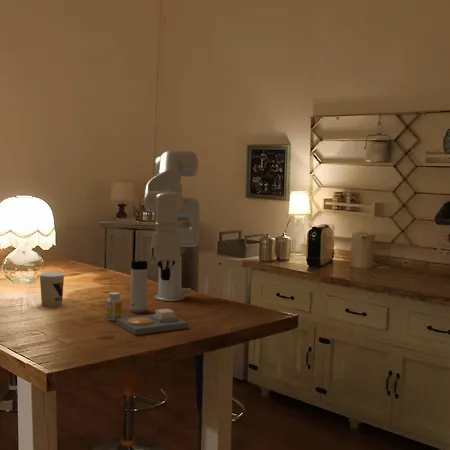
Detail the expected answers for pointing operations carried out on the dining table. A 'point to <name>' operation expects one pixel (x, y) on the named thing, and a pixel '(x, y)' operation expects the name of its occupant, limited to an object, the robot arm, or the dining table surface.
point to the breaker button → (164, 313)
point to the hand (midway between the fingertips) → (165, 279)
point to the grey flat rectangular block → (150, 324)
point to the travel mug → (138, 286)
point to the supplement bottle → (114, 306)
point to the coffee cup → (51, 289)
